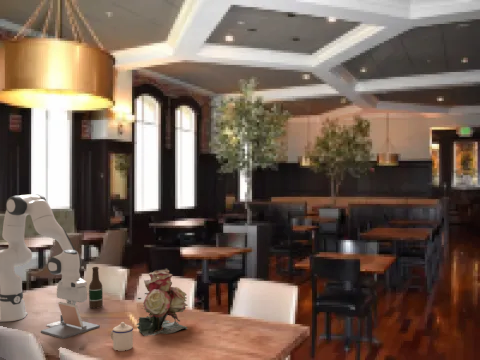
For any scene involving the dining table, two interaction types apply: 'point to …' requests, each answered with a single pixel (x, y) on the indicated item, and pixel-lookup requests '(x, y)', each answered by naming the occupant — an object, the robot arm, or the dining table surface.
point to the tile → (70, 314)
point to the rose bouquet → (161, 304)
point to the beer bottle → (95, 290)
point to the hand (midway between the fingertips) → (71, 308)
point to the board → (69, 329)
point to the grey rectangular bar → (55, 323)
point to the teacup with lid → (122, 337)
